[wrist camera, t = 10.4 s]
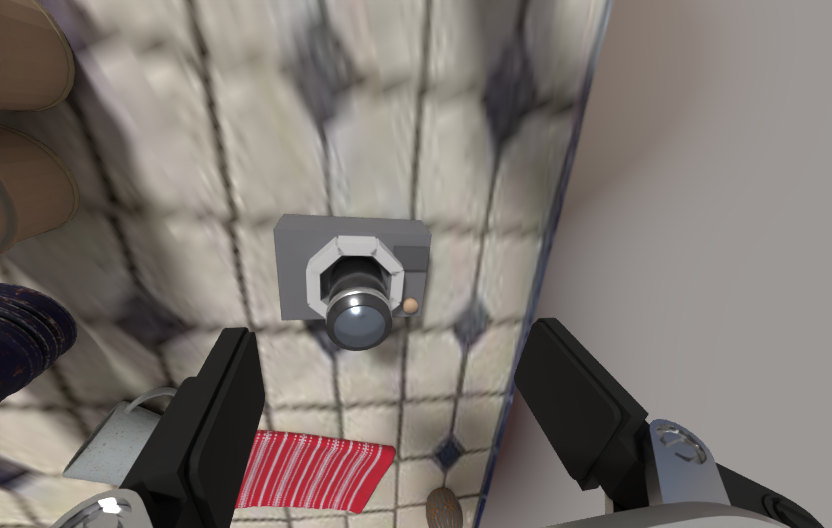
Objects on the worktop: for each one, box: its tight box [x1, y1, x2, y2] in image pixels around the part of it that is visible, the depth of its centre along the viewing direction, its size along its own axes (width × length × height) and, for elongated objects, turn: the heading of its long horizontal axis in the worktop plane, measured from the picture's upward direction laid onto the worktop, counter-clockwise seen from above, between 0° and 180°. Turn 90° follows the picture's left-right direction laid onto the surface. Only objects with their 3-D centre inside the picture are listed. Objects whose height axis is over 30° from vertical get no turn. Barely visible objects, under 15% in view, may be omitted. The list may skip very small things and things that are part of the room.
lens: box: [326, 256, 392, 351], centre depth 28 cm, size 5×5×8 cm
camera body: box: [273, 214, 432, 320], centre depth 32 cm, size 10×15×7 cm, turn 84°
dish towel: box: [235, 430, 395, 514], centre depth 50 cm, size 17×24×3 cm
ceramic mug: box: [62, 387, 178, 486], centre depth 36 cm, size 11×8×8 cm
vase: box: [426, 488, 463, 528], centre depth 57 cm, size 7×7×9 cm
